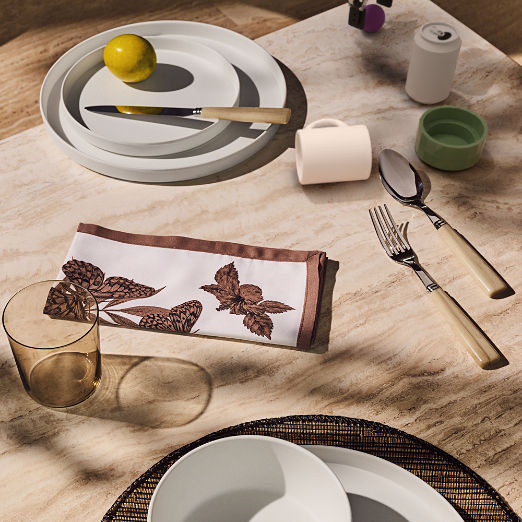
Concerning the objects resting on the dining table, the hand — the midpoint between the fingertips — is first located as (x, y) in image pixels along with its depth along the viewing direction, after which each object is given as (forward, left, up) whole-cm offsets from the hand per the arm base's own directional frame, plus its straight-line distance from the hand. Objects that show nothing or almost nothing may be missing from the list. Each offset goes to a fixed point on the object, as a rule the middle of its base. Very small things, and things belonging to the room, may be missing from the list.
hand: (370, 15), depth 127 cm
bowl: (-4, +36, -3) cm, 37 cm away
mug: (+15, +37, -3) cm, 40 cm away
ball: (0, 0, 0) cm, 1 cm away
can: (-5, +21, -3) cm, 22 cm away
